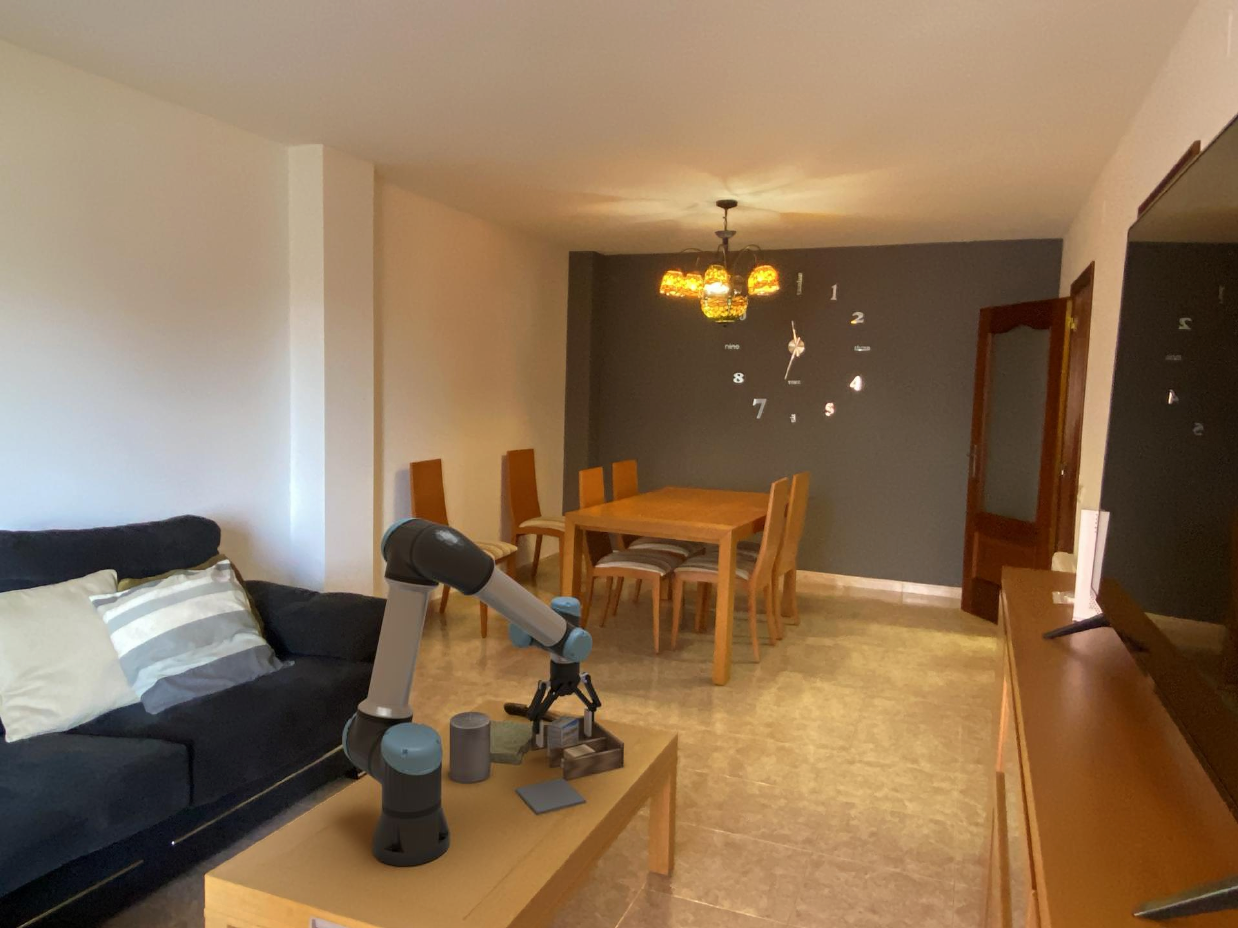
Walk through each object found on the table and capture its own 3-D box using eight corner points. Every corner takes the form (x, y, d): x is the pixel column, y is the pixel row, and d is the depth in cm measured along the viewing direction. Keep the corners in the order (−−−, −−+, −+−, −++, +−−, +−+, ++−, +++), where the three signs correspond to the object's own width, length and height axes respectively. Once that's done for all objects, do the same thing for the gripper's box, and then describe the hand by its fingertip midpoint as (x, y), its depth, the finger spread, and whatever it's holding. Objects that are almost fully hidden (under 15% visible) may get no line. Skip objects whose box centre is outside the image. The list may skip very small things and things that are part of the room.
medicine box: (561, 761, 208) (561, 727, 207) (546, 756, 210) (547, 723, 210) (578, 749, 215) (579, 717, 214) (564, 745, 217) (564, 713, 216)
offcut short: (574, 766, 201) (574, 756, 201) (563, 759, 205) (563, 749, 204) (594, 760, 204) (595, 751, 204) (584, 753, 208) (584, 743, 208)
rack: (565, 780, 198) (565, 755, 197) (531, 748, 215) (531, 725, 214) (623, 766, 206) (624, 743, 205) (586, 736, 223) (587, 715, 222)
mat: (537, 814, 182) (537, 812, 182) (515, 790, 192) (515, 788, 192) (585, 802, 188) (586, 799, 188) (562, 779, 198) (562, 777, 198)
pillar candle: (460, 762, 206) (460, 703, 204) (497, 768, 203) (497, 708, 202) (441, 780, 196) (441, 719, 195) (480, 786, 194) (480, 724, 192)
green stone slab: (450, 761, 207) (451, 748, 207) (473, 729, 227) (473, 716, 227) (524, 767, 205) (525, 753, 205) (541, 734, 225) (541, 721, 225)
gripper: (525, 671, 201) (524, 755, 203) (615, 655, 213) (613, 735, 215) (513, 661, 207) (512, 743, 209) (601, 647, 220) (599, 724, 222)
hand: (563, 739), depth 212 cm, fingers open, 13 cm apart
